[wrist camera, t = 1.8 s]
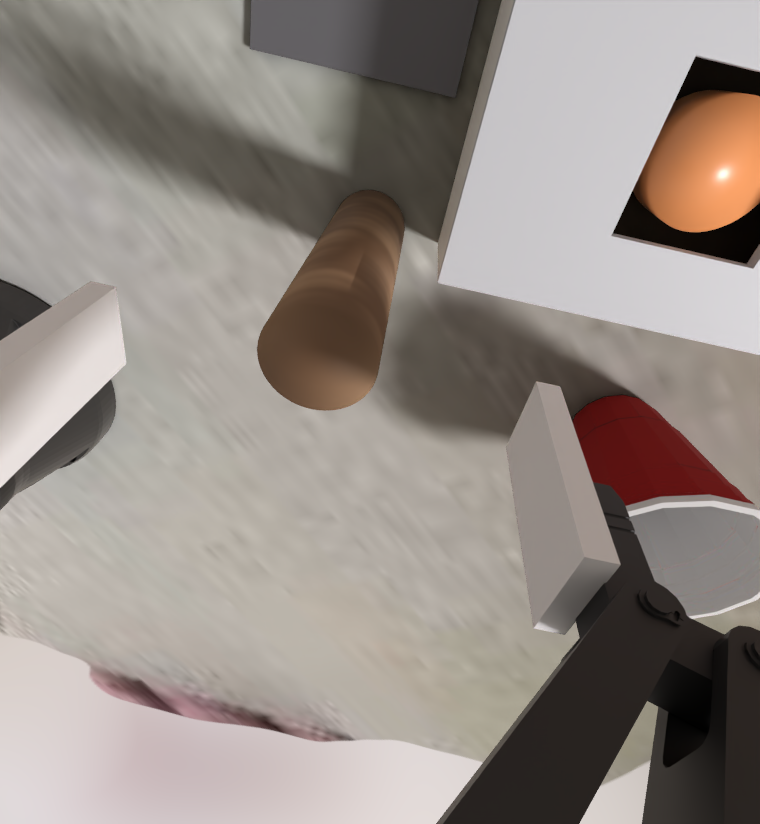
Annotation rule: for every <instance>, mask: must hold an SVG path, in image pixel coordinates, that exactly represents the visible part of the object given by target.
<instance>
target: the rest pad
mask: <svg viewBox="0 0 760 824" xmlns="http://www.w3.org/2000/svg"><path fill="white" fill-rule="evenodd" d="M478 2H479V0H251V25H250V49H253V50H257V51H261V52H265V53H269V54H274V55H278V56H282V57H286V58H290V59H295V60H299V61H303V62H307V63H311V64H316V65H320V66H324V67H328V68H332V69H337V70H341V71H345V72H349V73H353V74H358V75H362V76H366V77H370V78H374V79H379V80H383V81H387V82H391V83H395V84H400V85H404V86H408V87H412V88H416V89H421V90H425V91H429V92H433V93H437V94H441V95H446V96H450V97H454V98H455V97H456V93H457V89H458V85H459V80H460V76H461V72H462V68H463V64H464V60H465V56H466V51H467V47H468V43H469V39H470V35H471V31H472V27H473V22H474V18H475V14H476V10H477V6H478Z"/></svg>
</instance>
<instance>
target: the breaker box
mask: <svg viewBox="0 0 760 824" xmlns="http://www.w3.org/2000/svg"><path fill="white" fill-rule="evenodd" d="M695 57H699V58H703V59H707V60H712V61H716V62H720V63H724V64H728V65H732V66H736V67H740V68H744V69H748V70H752V71H756V72H760V0H502V1H501V5H500V9H499V13H498V16H497V20H496V24H495V28H494V32H493V35H492V39H491V43H490V47H489V51H488V54H487V58H486V62H485V66H484V70H483V73H482V77H481V81H480V85H479V89H478V92H477V96H476V100H475V104H474V108H473V112H472V115H471V119H470V123H469V127H468V131H467V134H466V138H465V142H464V146H463V150H462V153H461V157H460V161H459V165H458V169H457V172H456V176H455V180H454V184H453V188H452V192H451V195H450V199H449V203H448V207H447V211H446V214H445V218H444V222H443V226H442V230H441V233H440V237H439V241H438V283H440V284H445V285H449V286H454V287H458V288H463V289H467V290H472V291H476V292H480V293H485V294H489V295H494V296H498V297H503V298H507V299H512V300H516V301H521V302H525V303H530V304H534V305H538V306H543V307H547V308H552V309H556V310H561V311H565V312H570V313H574V314H579V315H583V316H588V317H592V318H597V319H601V320H605V321H610V322H614V323H619V324H623V325H628V326H632V327H637V328H641V329H646V330H650V331H655V332H659V333H663V334H668V335H672V336H677V337H681V338H686V339H690V340H695V341H699V342H704V343H708V344H713V345H717V346H722V347H726V348H730V349H735V350H739V351H744V352H748V353H753V354H757V355H760V244H759V246H758V247H757V249H756V250H755V252H754V253H753V255H752V256H751V258H750V260H749V261H748V263H747V264H744V263H740V262H736V261H731V260H727V259H723V258H718V257H714V256H710V255H705V254H701V253H697V252H692V251H688V250H684V249H679V248H675V247H671V246H666V245H662V244H658V243H653V242H649V241H645V240H640V239H636V238H632V237H627V236H623V235H619V234H614V233H613V231H614V229H615V227H616V225H617V223H618V221H619V218H620V216H621V214H622V212H623V210H624V208H625V206H626V203H627V201H628V199H629V197H630V195H631V193H632V191H633V189H634V186H635V184H636V182H637V180H638V178H639V176H640V174H641V171H642V169H643V167H644V165H645V163H646V161H647V159H648V157H649V154H650V152H651V150H652V148H653V146H654V144H655V142H656V140H657V137H658V135H659V133H660V131H661V129H662V127H663V125H664V122H665V120H666V118H667V116H668V114H669V112H670V110H671V108H672V105H673V103H674V101H675V99H676V97H677V95H678V93H679V90H680V88H681V86H682V84H683V82H684V80H685V78H686V76H687V73H688V71H689V69H690V67H691V65H692V63H693V61H694V58H695Z"/></svg>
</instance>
